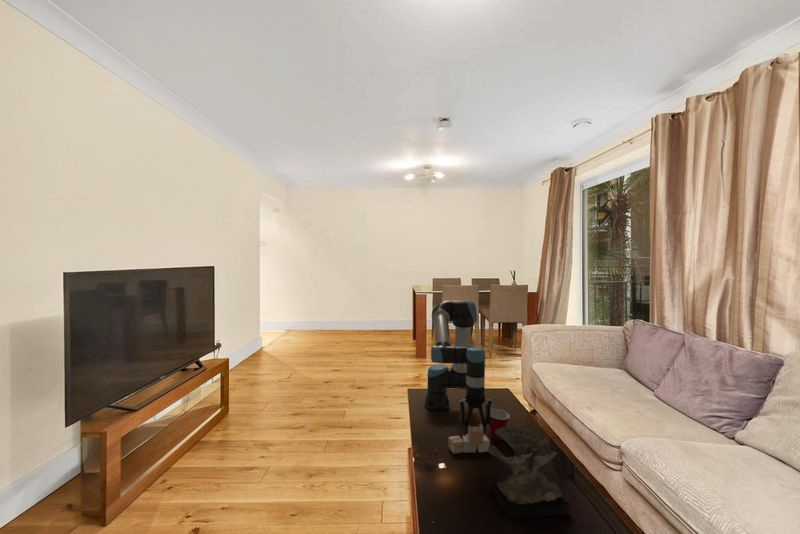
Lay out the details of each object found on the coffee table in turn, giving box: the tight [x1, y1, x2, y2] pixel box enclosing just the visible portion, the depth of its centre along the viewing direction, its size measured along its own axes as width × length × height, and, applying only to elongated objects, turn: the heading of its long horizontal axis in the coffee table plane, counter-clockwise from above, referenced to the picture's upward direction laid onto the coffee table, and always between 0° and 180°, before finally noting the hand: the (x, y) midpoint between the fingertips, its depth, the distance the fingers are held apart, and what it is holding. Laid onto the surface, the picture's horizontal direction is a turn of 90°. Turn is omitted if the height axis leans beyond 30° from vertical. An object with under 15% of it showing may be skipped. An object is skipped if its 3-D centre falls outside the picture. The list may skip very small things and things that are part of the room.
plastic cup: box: [488, 408, 511, 441], centre depth 161 cm, size 11×11×12 cm
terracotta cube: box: [469, 425, 484, 445], centre depth 139 cm, size 5×5×5 cm
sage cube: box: [462, 435, 477, 454], centre depth 150 cm, size 5×5×5 cm
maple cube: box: [448, 435, 465, 455], centre depth 150 cm, size 5×5×5 cm
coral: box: [488, 426, 570, 519], centre depth 120 cm, size 25×20×22 cm
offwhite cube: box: [476, 434, 491, 453], centre depth 151 cm, size 5×5×5 cm
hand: (474, 440), depth 139 cm, fingers closed on terracotta cube, 5 cm apart
